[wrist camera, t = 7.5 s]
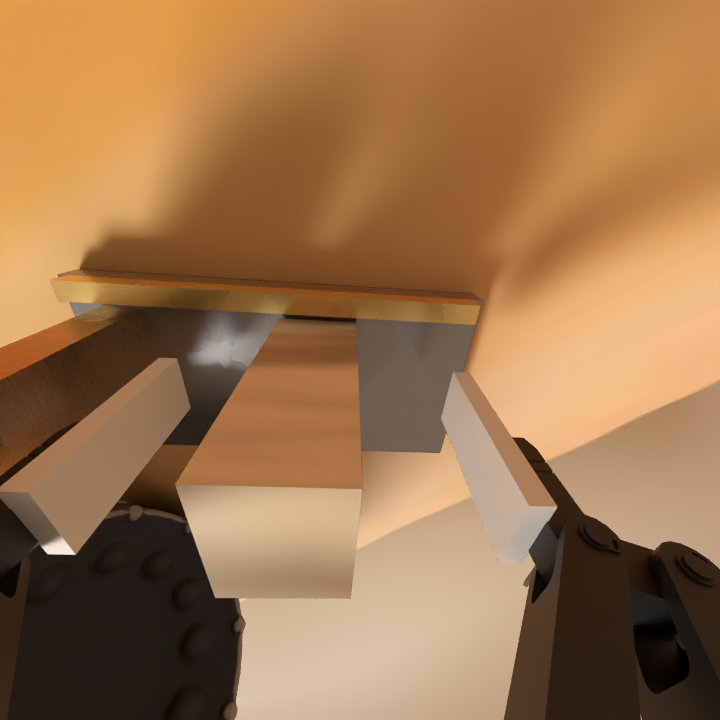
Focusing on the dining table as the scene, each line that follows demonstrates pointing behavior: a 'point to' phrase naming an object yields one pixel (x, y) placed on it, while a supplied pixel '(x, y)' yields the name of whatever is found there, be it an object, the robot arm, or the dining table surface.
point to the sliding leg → (283, 470)
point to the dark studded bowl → (127, 628)
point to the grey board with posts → (229, 352)
